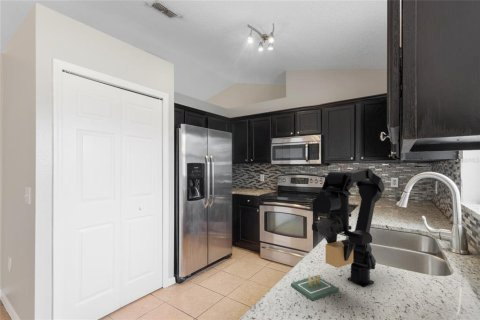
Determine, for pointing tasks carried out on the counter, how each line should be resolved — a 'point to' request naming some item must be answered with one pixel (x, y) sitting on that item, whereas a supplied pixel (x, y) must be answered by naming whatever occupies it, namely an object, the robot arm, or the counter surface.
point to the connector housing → (337, 254)
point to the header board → (314, 287)
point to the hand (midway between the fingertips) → (339, 258)
